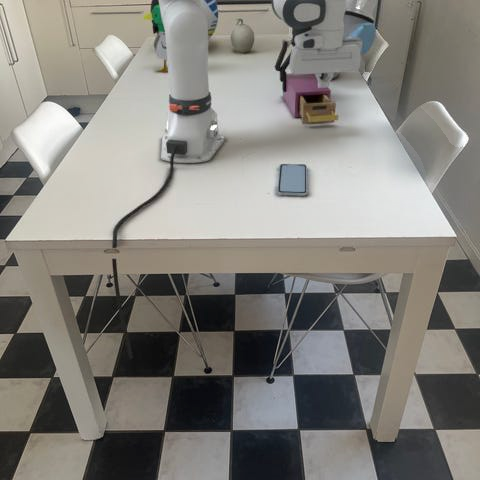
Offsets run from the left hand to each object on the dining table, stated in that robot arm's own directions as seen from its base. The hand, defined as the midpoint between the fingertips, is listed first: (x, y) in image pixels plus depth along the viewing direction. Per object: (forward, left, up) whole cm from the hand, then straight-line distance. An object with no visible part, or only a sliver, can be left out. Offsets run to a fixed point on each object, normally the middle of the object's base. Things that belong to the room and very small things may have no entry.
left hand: (323, 87), depth 151 cm
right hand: (+26, +6, -10) cm, 29 cm away
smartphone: (-33, +8, -13) cm, 37 cm away
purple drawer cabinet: (+21, +5, -13) cm, 25 cm away
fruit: (+87, +32, -13) cm, 94 cm away
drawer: (+9, +2, -12) cm, 15 cm away
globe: (+91, +58, -13) cm, 108 cm away
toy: (+59, +58, -13) cm, 84 cm away
